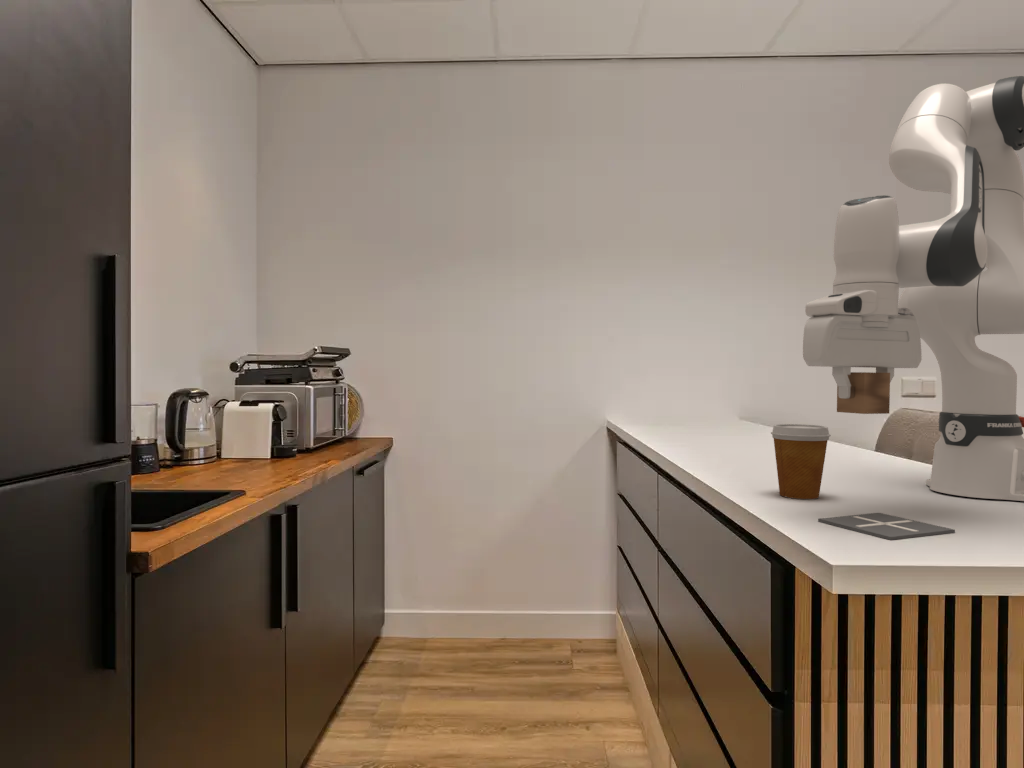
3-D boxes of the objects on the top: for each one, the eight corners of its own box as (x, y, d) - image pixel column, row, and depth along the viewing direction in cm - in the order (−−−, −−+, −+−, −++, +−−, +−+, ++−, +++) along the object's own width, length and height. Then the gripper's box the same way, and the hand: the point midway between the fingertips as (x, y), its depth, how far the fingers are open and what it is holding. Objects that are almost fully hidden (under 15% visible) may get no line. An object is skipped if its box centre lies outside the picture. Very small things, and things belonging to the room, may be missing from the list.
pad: (879, 515, 109) (879, 512, 109) (955, 532, 98) (955, 529, 98) (818, 521, 105) (818, 518, 105) (890, 540, 94) (890, 536, 94)
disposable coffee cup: (818, 491, 130) (820, 424, 129) (837, 501, 120) (838, 429, 120) (763, 490, 131) (764, 423, 130) (777, 500, 121) (779, 428, 121)
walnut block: (861, 411, 112) (862, 372, 112) (889, 413, 108) (890, 372, 107) (836, 412, 110) (837, 372, 110) (863, 413, 106) (864, 372, 106)
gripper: (897, 310, 115) (895, 397, 116) (796, 304, 108) (794, 397, 108) (934, 307, 110) (931, 399, 110) (829, 300, 102) (827, 399, 102)
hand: (862, 398), depth 109 cm, fingers closed on walnut block, 5 cm apart
